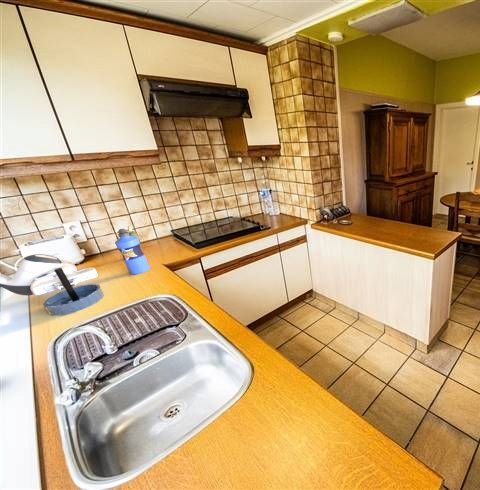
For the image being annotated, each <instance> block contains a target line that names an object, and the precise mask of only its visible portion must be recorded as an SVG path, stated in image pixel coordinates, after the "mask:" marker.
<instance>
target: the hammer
mask: <svg viewBox="0 0 480 490" xmlns="http://www.w3.org/2000/svg"><path fill="white" fill-rule="evenodd" d="M54 271H55V273H56V274H57V276H58V278H59V279H60V281H61V283H62V284H63V286H64V288H65V289H64V290H66V291H67V293H68V294H69V296H70V298H71V299H72V300H70V301H69V302H68V303H71V302H74V301H77V300H80V299H82V298H84V297H78V296H77V294H76V292H75V290H74V289H73V288H74V286H72V285H71V284H70V282H69V280H68V278H67V277H66V275H65V273H64V272H63V270H62V268H57V269H55V270H54Z"/></svg>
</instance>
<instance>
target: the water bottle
mask: <svg viewBox="0 0 480 490" xmlns="http://www.w3.org/2000/svg"><path fill="white" fill-rule="evenodd" d="M117 233H118V234H117V235H118V239H117V240H115V241H114V244H115V246H116V248H117V249H118V251H119V253H121V255H122V259H123V262H124V264H125V266H126V269H127V270H128V272H129V274H130V275H131V276H135V275H140V274H143V273H146V272H148V271H150V269H151V267H150V264H149V262H148V260H147V257H146V255H145V253H144V251H143V249H142V250H141V248H140V244H141V243H140V244H139V240H140V239H139V240H138V238H137V237H135V236H129V231H128V229H126V228H119V230H118V231H117Z"/></svg>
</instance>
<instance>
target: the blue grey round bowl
mask: <svg viewBox="0 0 480 490" xmlns="http://www.w3.org/2000/svg"><path fill="white" fill-rule="evenodd" d="M73 289H74V290H75V292H76V294H77V296H78V297H84V298H82V299H80V300H77V301H74V302H71V303H68V302H69V301H70V300H72V299H71V298H70V296H69V294H68V293H67V291H66V289H64V290H63V291H60V292H58V293H56V294H53V295H52V296H50V297H48V298H47V299H46V300H45V301H44V302H43V303H42V305H43V308H44V309H45V311H46V312H47V314H48V315H49V316H53V317H58V316H65V315H69V314H73V313H76V312H79V311H83V310H84V309H87V308H89V307H91V306H94V305H95V304H97V303H98V302H100V301H101V300H102V299H103V297H105V294H104V292H103V290H102V288H101V286H100V285H99V284H96V283H90V284H83V285H79V286H73Z"/></svg>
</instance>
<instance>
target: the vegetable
mask: <svg viewBox="0 0 480 490" xmlns="http://www.w3.org/2000/svg"><path fill="white" fill-rule="evenodd" d="M127 232H129V236H135V237H137V238H138V240H139V244H140V248H141V250H142V251H143V246H142V244H141V240H140V236H139V235H138V233H137V232H136V231H134V230H133V229H132V228H131V226H130V225H129V226H127Z"/></svg>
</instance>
